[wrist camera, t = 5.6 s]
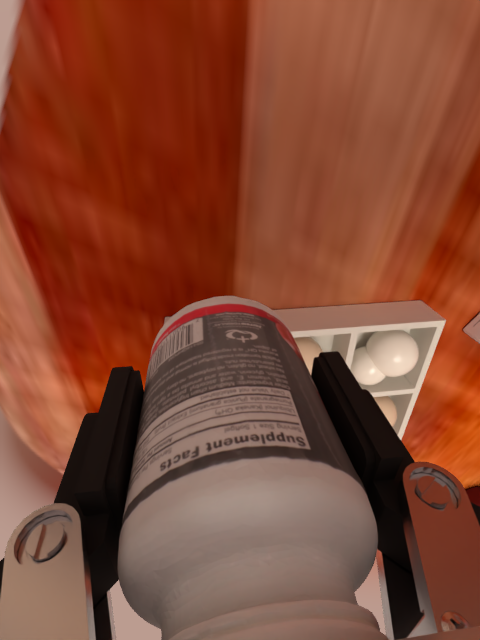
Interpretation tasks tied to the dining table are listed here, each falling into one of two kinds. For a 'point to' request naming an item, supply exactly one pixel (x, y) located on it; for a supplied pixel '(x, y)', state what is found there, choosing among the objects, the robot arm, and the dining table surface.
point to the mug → (474, 495)
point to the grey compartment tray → (355, 330)
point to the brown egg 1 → (308, 350)
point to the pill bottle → (242, 489)
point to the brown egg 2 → (387, 408)
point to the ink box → (474, 328)
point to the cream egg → (384, 357)
